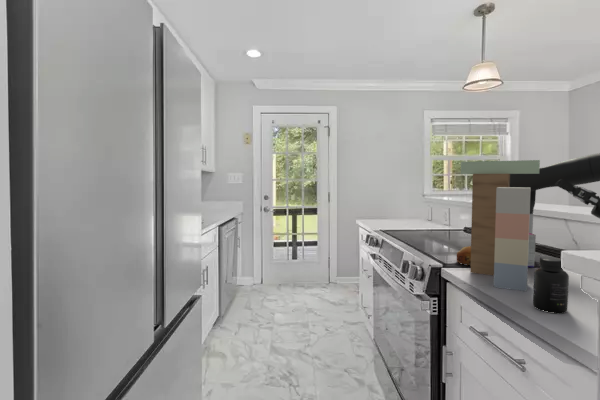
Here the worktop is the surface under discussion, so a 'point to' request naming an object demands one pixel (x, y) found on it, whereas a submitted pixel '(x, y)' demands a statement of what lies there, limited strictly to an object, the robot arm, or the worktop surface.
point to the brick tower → (512, 237)
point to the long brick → (501, 167)
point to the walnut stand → (484, 220)
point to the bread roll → (464, 255)
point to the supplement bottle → (551, 286)
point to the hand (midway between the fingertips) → (557, 182)
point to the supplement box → (531, 250)
